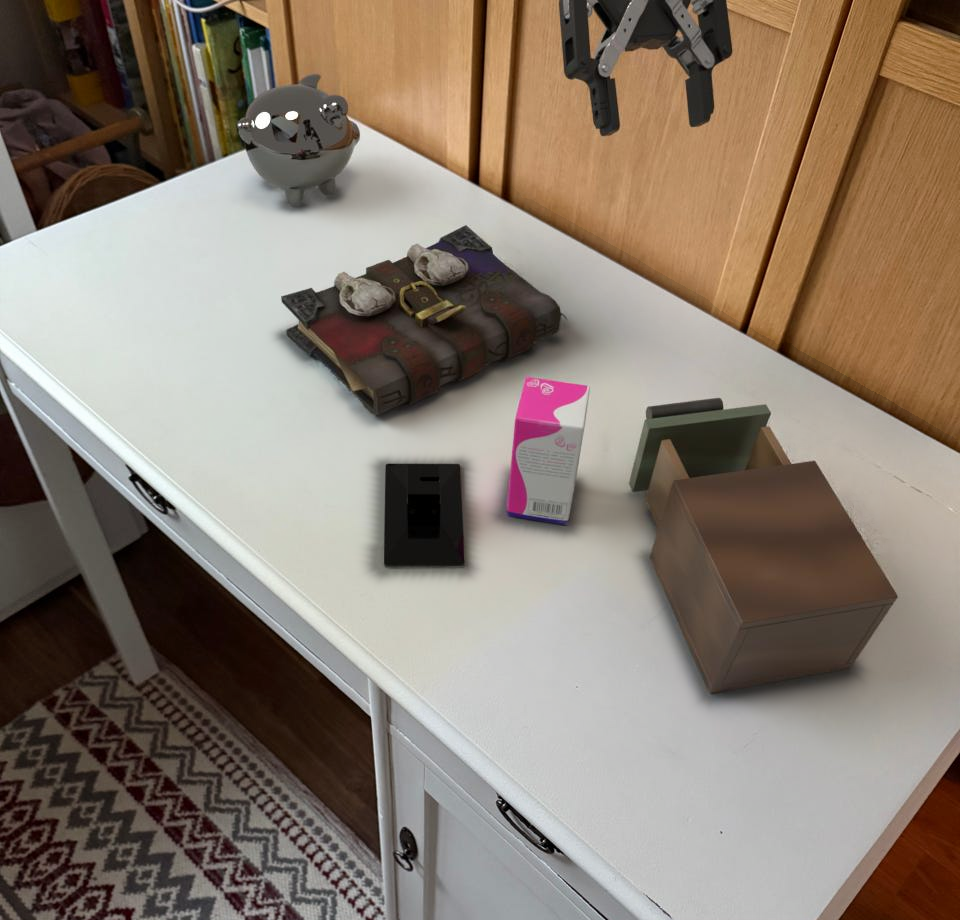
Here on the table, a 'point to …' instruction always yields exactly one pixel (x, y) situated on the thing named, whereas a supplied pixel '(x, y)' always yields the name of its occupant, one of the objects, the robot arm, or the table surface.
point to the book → (421, 320)
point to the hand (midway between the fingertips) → (656, 129)
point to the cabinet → (767, 575)
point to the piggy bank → (299, 137)
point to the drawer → (700, 446)
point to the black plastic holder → (423, 516)
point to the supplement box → (546, 449)
